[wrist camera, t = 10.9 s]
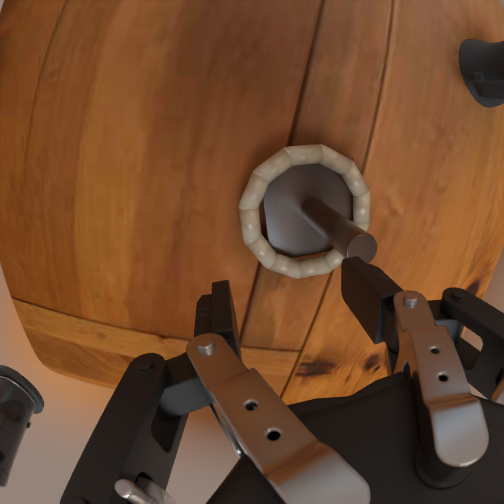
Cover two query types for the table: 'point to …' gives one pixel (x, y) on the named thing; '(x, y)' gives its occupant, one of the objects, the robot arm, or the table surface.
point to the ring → (259, 186)
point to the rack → (313, 214)
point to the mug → (483, 70)
